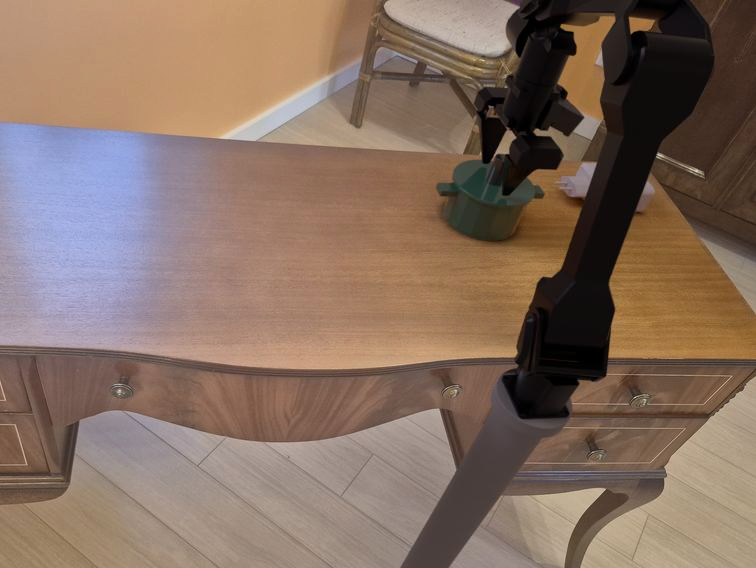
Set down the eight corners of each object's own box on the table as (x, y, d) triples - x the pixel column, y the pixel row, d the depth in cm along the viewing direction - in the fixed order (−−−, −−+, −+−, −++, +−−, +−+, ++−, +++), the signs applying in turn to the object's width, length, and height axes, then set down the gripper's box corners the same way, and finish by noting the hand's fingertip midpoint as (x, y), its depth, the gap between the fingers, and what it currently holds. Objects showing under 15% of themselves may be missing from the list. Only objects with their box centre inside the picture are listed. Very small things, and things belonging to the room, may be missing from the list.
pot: (541, 241, 96) (559, 207, 92) (439, 240, 93) (452, 204, 89) (514, 199, 104) (529, 165, 99) (419, 196, 101) (430, 161, 96)
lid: (545, 212, 91) (560, 182, 88) (465, 210, 89) (477, 180, 85) (514, 166, 100) (526, 137, 96) (441, 164, 98) (450, 134, 94)
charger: (540, 183, 108) (615, 184, 111) (563, 214, 102) (642, 214, 105) (551, 159, 105) (628, 160, 108) (575, 189, 99) (657, 190, 102)
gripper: (624, 113, 77) (569, 216, 89) (562, 51, 89) (521, 148, 101) (543, 108, 75) (497, 214, 87) (491, 46, 88) (457, 146, 99)
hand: (495, 178), depth 93 cm, fingers open, 8 cm apart
